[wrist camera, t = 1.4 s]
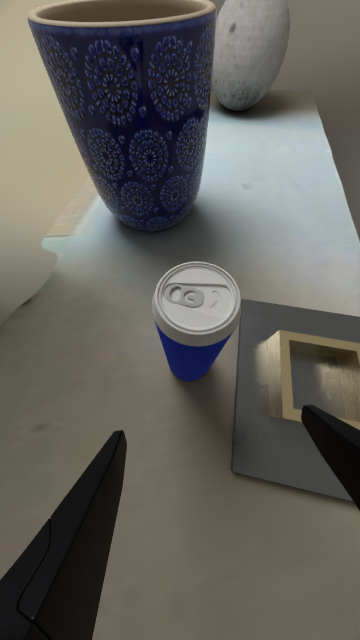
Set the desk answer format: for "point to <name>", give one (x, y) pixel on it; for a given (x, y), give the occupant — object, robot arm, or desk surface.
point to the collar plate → (292, 391)
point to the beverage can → (195, 316)
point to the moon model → (248, 50)
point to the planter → (134, 97)
